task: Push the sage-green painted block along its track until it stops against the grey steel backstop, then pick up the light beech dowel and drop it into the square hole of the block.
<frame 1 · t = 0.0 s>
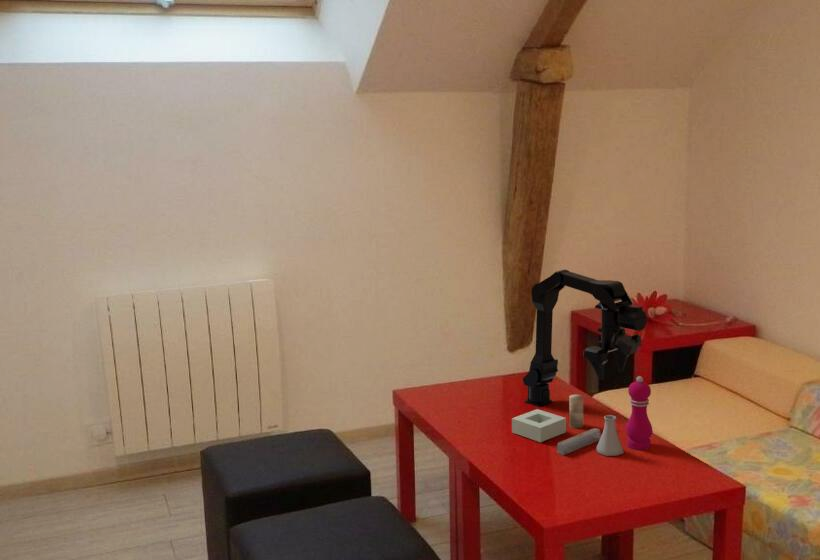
hand: (610, 376, 260), 15 cm above the table, fingers open, 9 cm apart
dowel: (576, 425, 263), on the table
backstop: (579, 446, 247), on the table
pepper mill: (638, 446, 246), on the table
block: (538, 425, 258), point 2 cm above the table, slide at 0.0 cm
flask: (609, 452, 243), on the table
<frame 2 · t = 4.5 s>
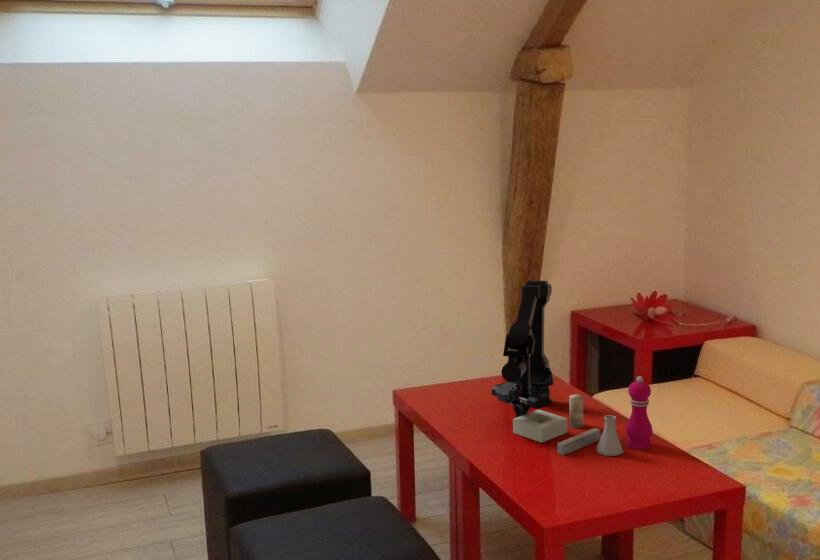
hand: (520, 422, 263), 1 cm above the table, fingers closed
block: (540, 425, 257), point 2 cm above the table, slide at 0.4 cm, touching gripper
everything else where it was.
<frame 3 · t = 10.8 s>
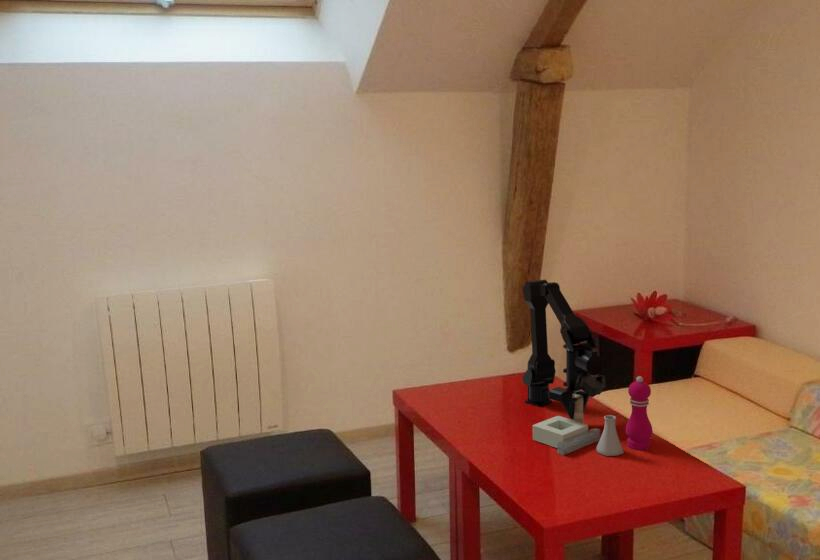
hand: (576, 416, 262), 3 cm above the table, fingers closed on dowel, 4 cm apart
dowel: (576, 425, 262), on the table, touching gripper
block: (560, 432, 251), point 2 cm above the table, slide at 8.0 cm
everything else where it was.
when the fingers open (6 cm above the table, at t = 15.1 s): dowel drops 3 cm, resting in block.
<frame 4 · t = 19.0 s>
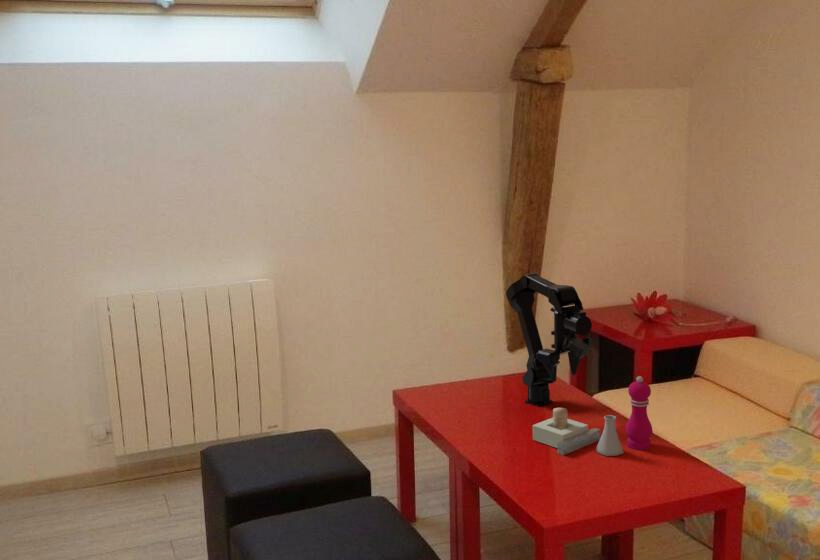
hand: (564, 378, 269), 12 cm above the table, fingers open, 9 cm apart
dowel: (560, 440, 252), resting in block
everything else where it was.
at the end: block slide at 8.0 cm; dowel 0.0 cm from the target spot, resting in block; dowel tilted 0° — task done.
